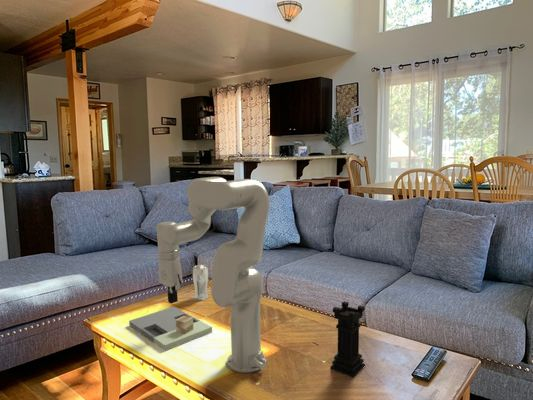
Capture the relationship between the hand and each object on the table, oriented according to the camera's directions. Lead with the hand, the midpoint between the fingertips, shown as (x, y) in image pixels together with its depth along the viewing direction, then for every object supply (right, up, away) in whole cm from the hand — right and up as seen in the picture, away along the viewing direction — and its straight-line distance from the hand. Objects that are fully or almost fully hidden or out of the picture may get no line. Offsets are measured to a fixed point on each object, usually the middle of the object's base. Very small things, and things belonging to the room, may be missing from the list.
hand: (173, 301), depth 155 cm
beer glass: (+5, -7, +35) cm, 36 cm away
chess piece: (+61, -15, -25) cm, 68 cm away
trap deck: (-2, -11, +4) cm, 12 cm away
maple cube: (+5, -10, -2) cm, 11 cm away
